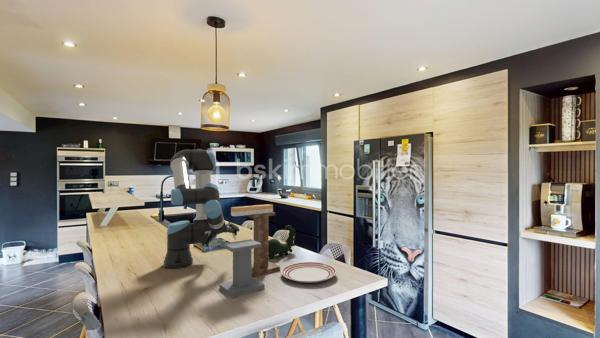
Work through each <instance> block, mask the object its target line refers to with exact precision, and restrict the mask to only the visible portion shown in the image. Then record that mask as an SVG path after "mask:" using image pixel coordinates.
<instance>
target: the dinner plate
mask: <svg viewBox="0 0 600 338" xmlns="http://www.w3.org/2000/svg"><path fill="white" fill-rule="evenodd" d="M337 271H338V270H337V268H336V267H334V266H333V265H331V264H328V263H324V262H317V261H302V262H294V263H291V264H289V265H288V264H287V265H286V266H284V267H283V268H282V269H280V273H281V275H282V276H283V277H284V278H285V279H288V280H291V281H294V282H298V283H305V284H314V283H320V282H324V281H327V280H329V279H331V278H333V277H334V276H336V275H337Z"/></svg>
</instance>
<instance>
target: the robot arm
mask: <svg viewBox="0 0 600 338" xmlns="http://www.w3.org/2000/svg"><path fill="white" fill-rule="evenodd" d="M216 160H217V159H216V156H215V153H214V152H213V150H210V149H209V150H207V149H183V150H180V151H178V152H177V153H175V154H174V155H173V157H172V158H171V159H170V170H171V171H172V174H173V184H174V185H173V186H174V188H173V189H171V191H170V203H171V204H172V206H185V205H195V218H194V219H193V223H192V222H190V220H179V221H175V222H172V223H170V224H168V225H167V231H166V235H167V236H166V239H167V242H166V253H165V257H164V259H163V267H164V268H166V269H181V268H182V269H183V268H186V267H189V266H192V265H193V263H194V258H193V256H192V252H191V250H190V249H191V248H190V247H191V246H190V245H196V244H199V245H200V244H201V246H206V248H208V247H209V249H210V251H212V246H211V243H213V242H215V241H216V239H217V236H218V235H220V234H223V233H230V234H232V237H233V239H234V241H236V239H237V238H236V236H237V235H238V232H240V231H241V230H240V228H239V226H237V225H235V224H233V222H231V221H228V223H226V221H225V218H224V215H223V210H222V205H221V199H220V198H221V197H220V191H219V187H218V186H217V184H216V183H213V182H211V181H212V179H211V178H212V177H211V175H212V174H214V170H216V168H217V164H216V163H217V162H216ZM189 170H192V174H193V175H194V177H195V180H194V181H195V188H192V186H191V181H190V175H189Z"/></svg>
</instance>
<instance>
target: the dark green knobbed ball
mask: <svg viewBox="0 0 600 338" xmlns="http://www.w3.org/2000/svg"><path fill="white" fill-rule="evenodd" d="M286 229H288V236H287V240H286V241H285V243H282V242H280V241H279V240H278V239H276V238H271V239H268V259H269V258H270V259H274V258H275V256H276V255H279V256H280V257H283V256H284V255H285V256H288V255H289V253H292V252H293V249H292V247H295V246H296V244H295V243H294V241H296V238H295V237H296V236H297V234H296V233H295V232H296V231H297V230H296V229H295V228H293V227H292V225H290V224H287V225H285V227H284V230H286Z"/></svg>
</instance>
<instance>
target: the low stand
mask: <svg viewBox="0 0 600 338" xmlns="http://www.w3.org/2000/svg"><path fill="white" fill-rule="evenodd" d="M259 247H262V243H259V242H256V241H254V239H245V240H239V241H231V242H225V243H222V248H224V249H226V250H227V251H230V252H232V281H227V282H223V283H220V284H219V290H220V291H222V292H223V293H224V294H226V295H227V296H228V297H229V298H231V299H233V298H236V297H239V296H244V295H246V294H251V293H254V292H258V291H261V290H265V287H266V286H265V285H266V284H265V283H263V282H262V281H260V280H258V279H257V278H255V277H252V276H251V265H252V253H253V252H252V249H253V250H254V248H259Z"/></svg>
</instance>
